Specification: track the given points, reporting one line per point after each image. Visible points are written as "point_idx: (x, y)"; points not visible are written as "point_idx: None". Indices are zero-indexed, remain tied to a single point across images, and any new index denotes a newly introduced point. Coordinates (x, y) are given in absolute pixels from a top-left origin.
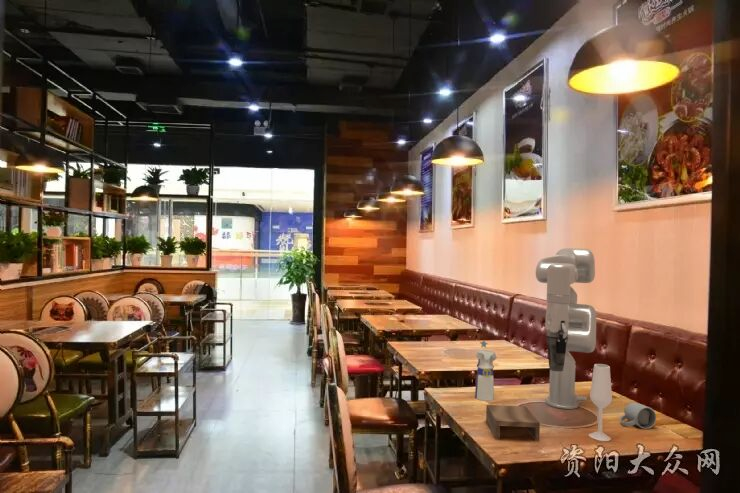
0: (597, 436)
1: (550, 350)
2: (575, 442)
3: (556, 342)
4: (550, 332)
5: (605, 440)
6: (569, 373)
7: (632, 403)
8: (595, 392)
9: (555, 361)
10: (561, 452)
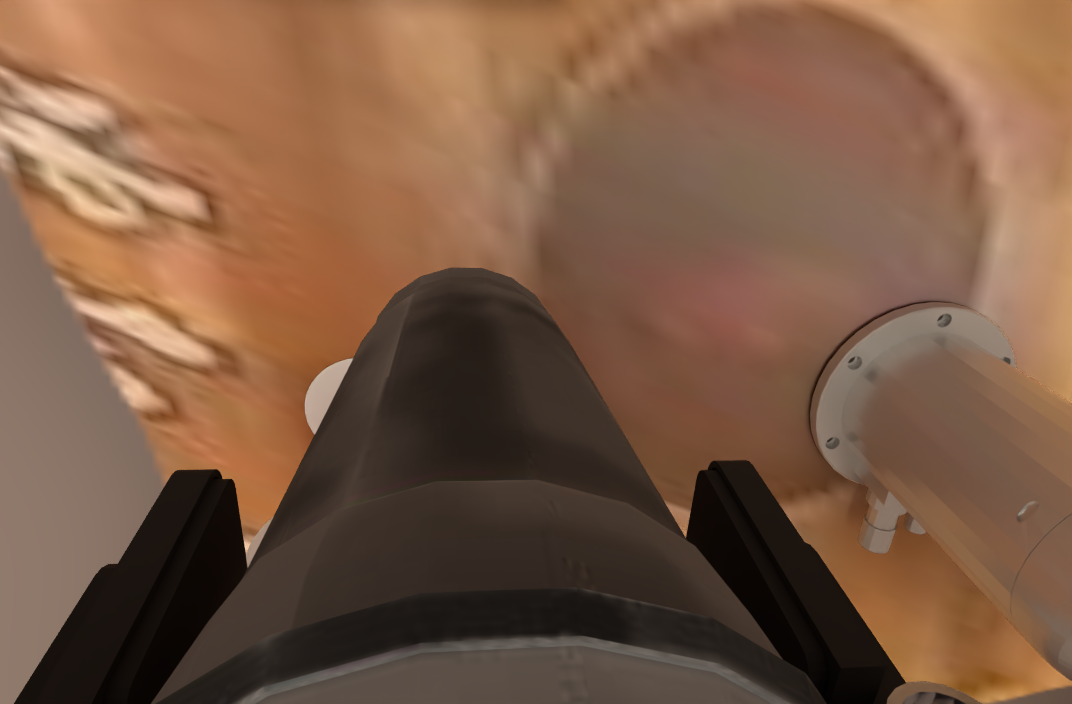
0: (332, 393)
1: (382, 407)
2: (242, 232)
3: (50, 683)
4: None
5: (308, 418)
6: (981, 564)
7: None
8: None
9: (342, 381)
10: (26, 62)
